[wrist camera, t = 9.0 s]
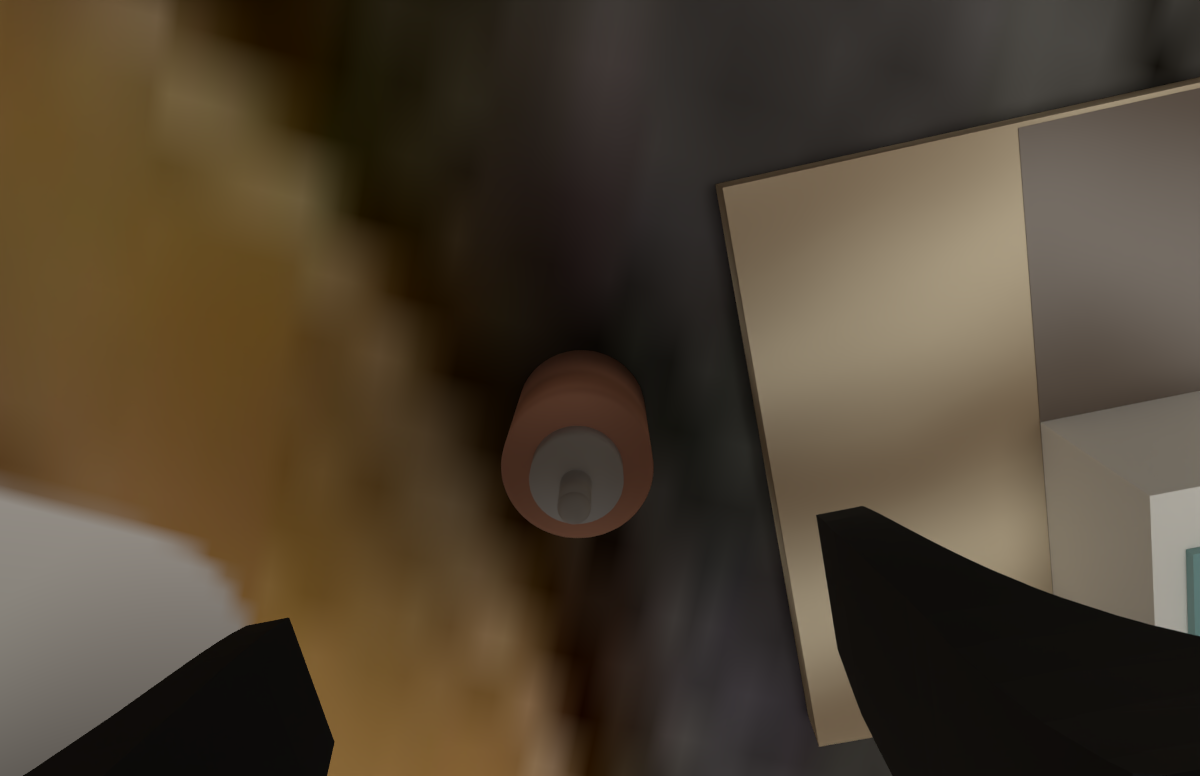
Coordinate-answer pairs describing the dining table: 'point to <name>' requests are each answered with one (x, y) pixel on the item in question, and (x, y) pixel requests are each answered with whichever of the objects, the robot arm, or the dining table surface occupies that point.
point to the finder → (1127, 510)
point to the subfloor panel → (958, 330)
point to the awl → (578, 446)
